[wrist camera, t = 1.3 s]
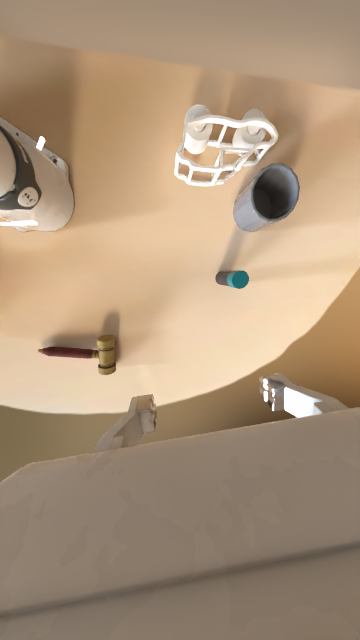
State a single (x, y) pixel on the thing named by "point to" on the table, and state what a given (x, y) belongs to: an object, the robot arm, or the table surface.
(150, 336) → the table surface
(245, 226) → the pen pot
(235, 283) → the marker pen
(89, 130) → the table surface
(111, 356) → the gavel
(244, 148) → the white cage
